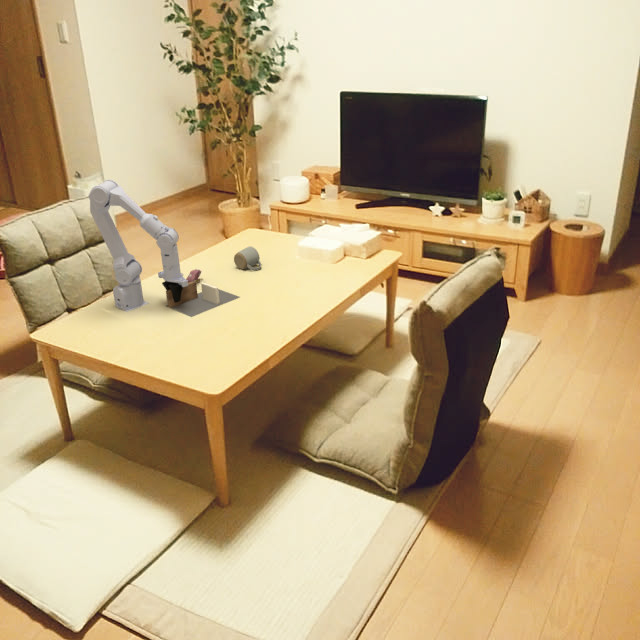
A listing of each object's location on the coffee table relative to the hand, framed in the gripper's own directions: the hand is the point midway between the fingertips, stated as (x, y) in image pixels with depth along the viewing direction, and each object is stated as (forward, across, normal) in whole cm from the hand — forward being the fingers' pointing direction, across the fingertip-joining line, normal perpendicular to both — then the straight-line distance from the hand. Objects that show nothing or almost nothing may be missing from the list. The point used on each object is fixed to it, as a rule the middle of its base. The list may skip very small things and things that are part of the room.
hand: (175, 300), depth 234 cm
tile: (+2, -7, -10) cm, 12 cm away
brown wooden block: (+1, 0, -3) cm, 3 cm away
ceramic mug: (+2, +9, -43) cm, 44 cm away
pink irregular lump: (+2, +13, -17) cm, 21 cm away
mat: (+2, -5, -8) cm, 10 cm away
